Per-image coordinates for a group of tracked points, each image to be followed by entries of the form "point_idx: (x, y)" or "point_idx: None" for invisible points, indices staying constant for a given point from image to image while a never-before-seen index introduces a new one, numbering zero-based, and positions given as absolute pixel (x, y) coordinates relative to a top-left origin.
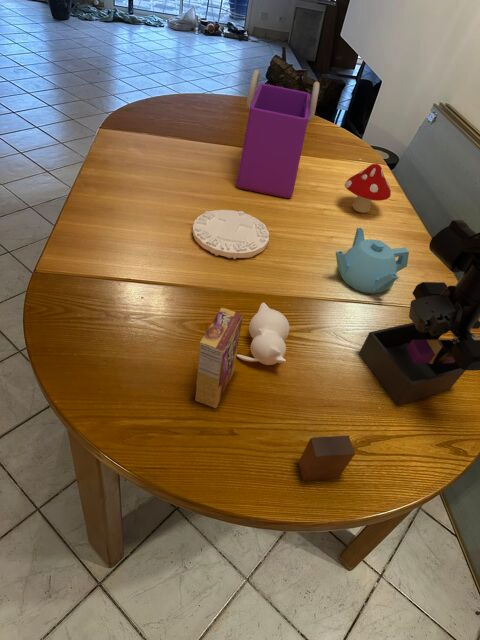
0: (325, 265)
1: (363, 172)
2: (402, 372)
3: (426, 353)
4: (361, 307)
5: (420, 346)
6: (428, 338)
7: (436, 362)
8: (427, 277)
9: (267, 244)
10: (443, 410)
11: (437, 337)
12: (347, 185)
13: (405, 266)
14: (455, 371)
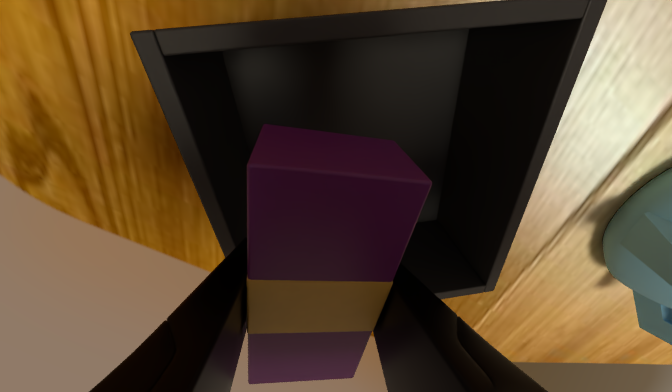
0: None
1: None
2: (245, 28)
3: (261, 225)
4: (611, 151)
5: (345, 215)
6: (395, 298)
7: (232, 254)
8: (554, 333)
9: None
10: (196, 196)
11: (381, 344)
12: None
13: (642, 324)
14: None
